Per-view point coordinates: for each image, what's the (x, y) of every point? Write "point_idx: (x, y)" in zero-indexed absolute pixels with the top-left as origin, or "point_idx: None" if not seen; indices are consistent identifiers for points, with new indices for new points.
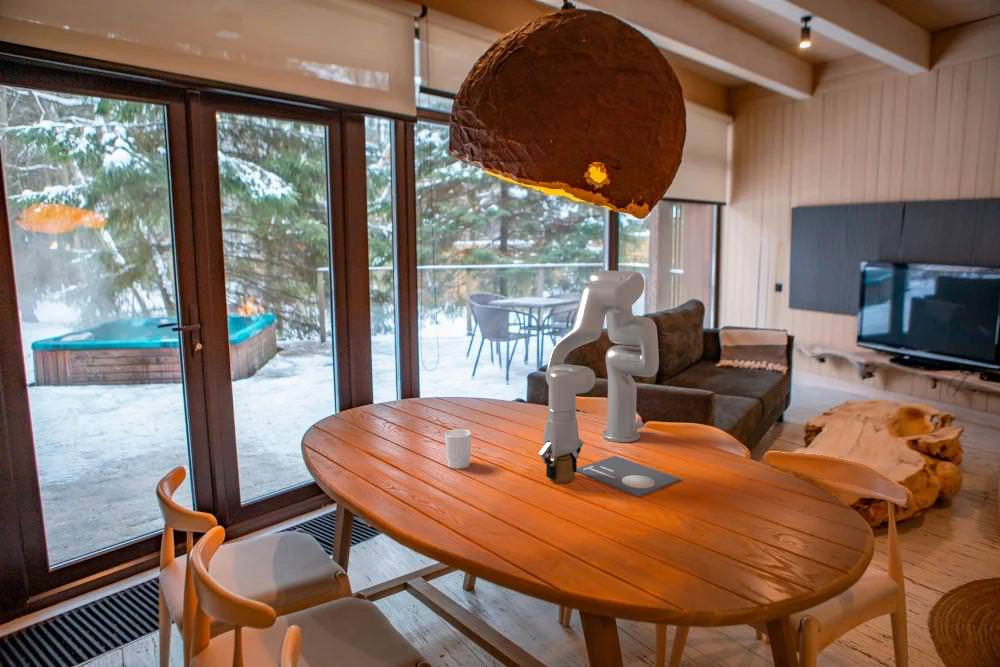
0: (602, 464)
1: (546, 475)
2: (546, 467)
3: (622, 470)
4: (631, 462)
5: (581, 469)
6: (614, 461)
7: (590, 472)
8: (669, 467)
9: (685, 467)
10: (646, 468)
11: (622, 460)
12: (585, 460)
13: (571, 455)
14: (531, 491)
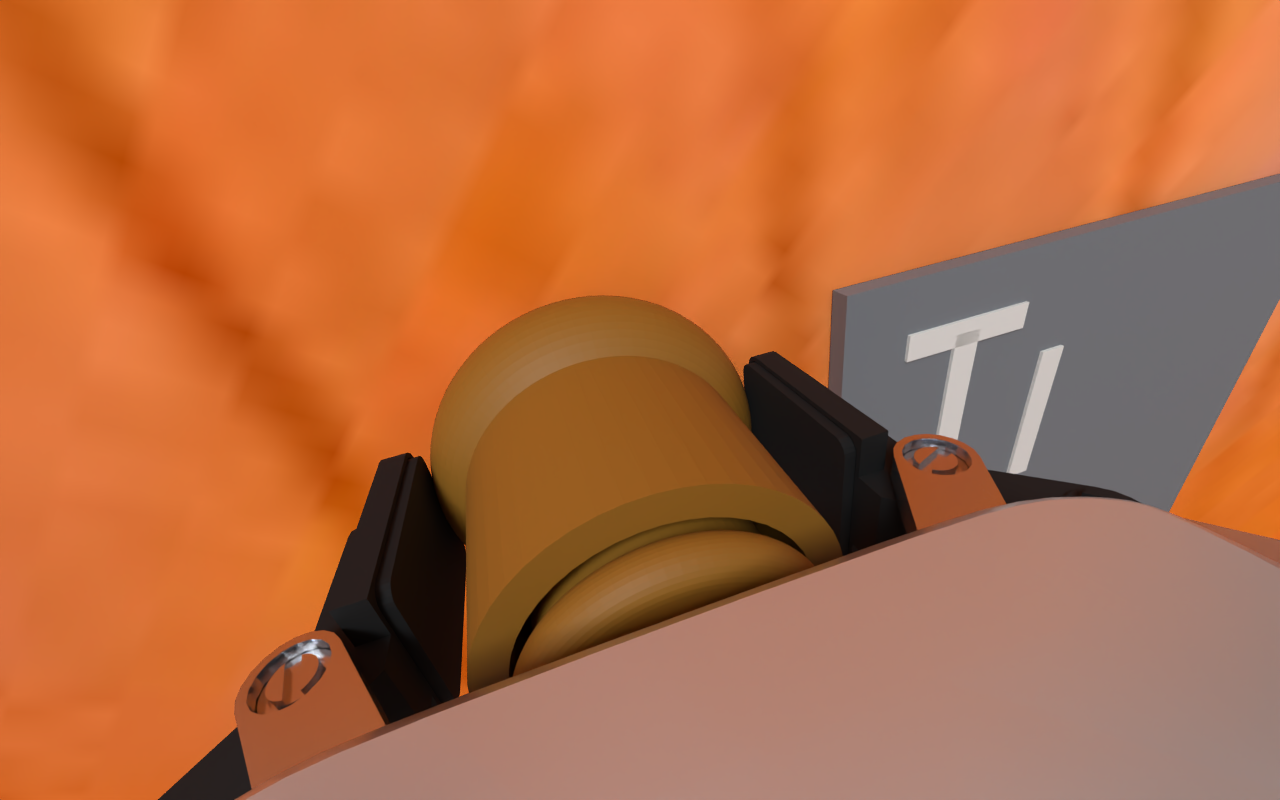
0: (1105, 309)
1: (379, 465)
2: (351, 544)
3: (1065, 474)
4: (1231, 369)
5: (896, 333)
6: (1209, 294)
7: (892, 431)
8: (1236, 483)
9: (1260, 506)
10: (1162, 491)
11: (1251, 304)
12: (1158, 48)
13: (894, 532)
14: (85, 606)
